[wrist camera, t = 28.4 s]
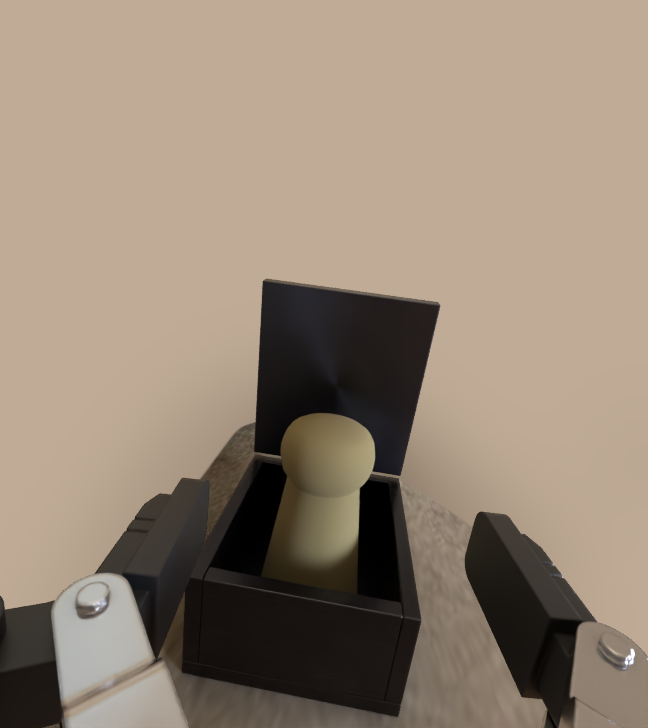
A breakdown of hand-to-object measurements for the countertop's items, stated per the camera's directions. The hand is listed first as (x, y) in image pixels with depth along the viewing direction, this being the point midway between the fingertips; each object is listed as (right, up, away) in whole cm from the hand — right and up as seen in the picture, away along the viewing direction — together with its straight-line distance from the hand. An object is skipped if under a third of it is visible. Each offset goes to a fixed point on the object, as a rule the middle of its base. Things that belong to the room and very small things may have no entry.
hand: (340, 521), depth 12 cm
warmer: (-2, -10, +13) cm, 16 cm away
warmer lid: (0, +3, +14) cm, 14 cm away
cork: (-1, -9, +12) cm, 16 cm away
